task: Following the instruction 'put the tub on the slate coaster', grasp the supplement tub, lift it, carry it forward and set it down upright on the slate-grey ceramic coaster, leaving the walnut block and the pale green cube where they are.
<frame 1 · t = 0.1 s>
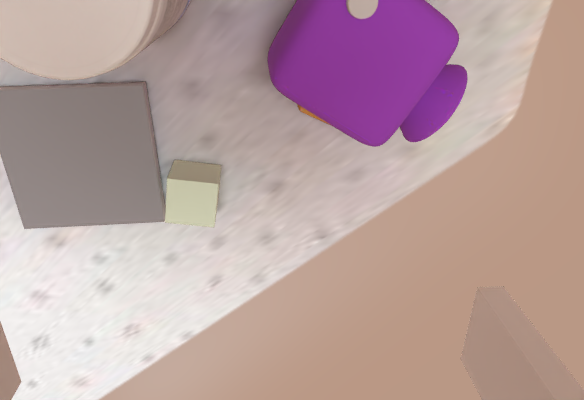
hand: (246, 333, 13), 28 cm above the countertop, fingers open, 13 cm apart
toy camera: (358, 48, 37), on the countertop
slate coaster: (84, 156, 39), on the countertop
pale green cube: (196, 182, 41), on the countertop
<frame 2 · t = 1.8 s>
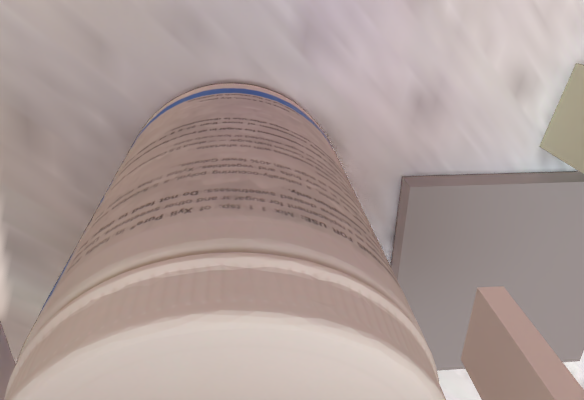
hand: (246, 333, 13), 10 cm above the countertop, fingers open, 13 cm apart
supplement tub: (237, 179, 22), on the countertop
slate coaster: (495, 272, 26), on the countertop
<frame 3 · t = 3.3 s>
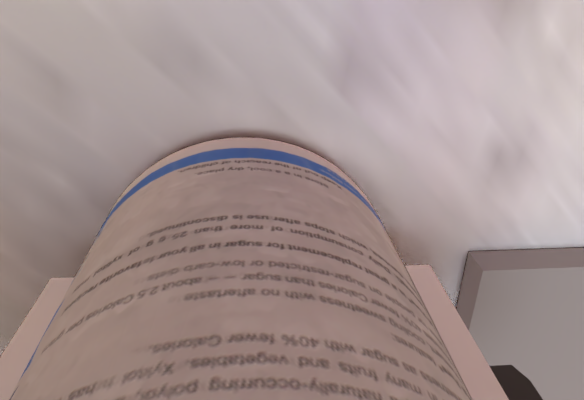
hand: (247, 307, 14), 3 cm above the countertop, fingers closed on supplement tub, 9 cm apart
supplement tub: (249, 256, 17), on the countertop, touching gripper
slate coaster: (578, 364, 20), on the countertop
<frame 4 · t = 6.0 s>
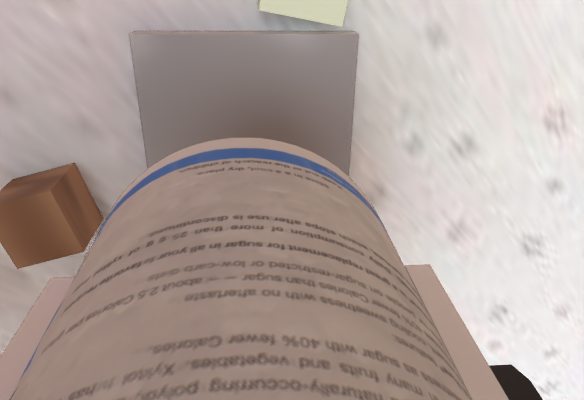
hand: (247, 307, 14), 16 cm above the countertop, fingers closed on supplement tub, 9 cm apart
supplement tub: (249, 256, 17), point 13 cm above the countertop, touching gripper
slate coaster: (249, 135, 28), on the countertop
walnut block: (59, 198, 29), on the countertop
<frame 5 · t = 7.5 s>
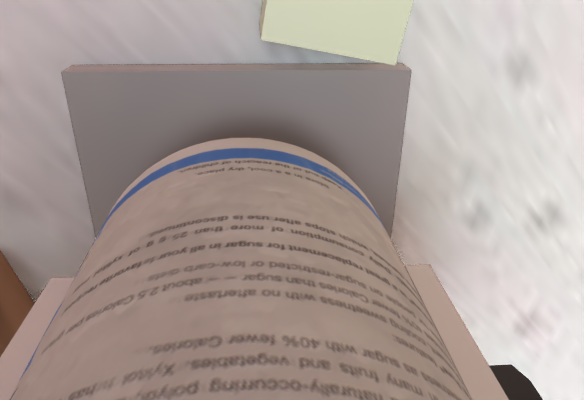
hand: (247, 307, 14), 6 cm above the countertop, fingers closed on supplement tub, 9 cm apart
supplement tub: (249, 256, 17), point 4 cm above the countertop, touching gripper
slate coaster: (247, 208, 20), on the countertop
when the fingers open (5 cm above the countertop, at t = 8.7 s): supplement tub drops 1 cm, resting on slate coaster.
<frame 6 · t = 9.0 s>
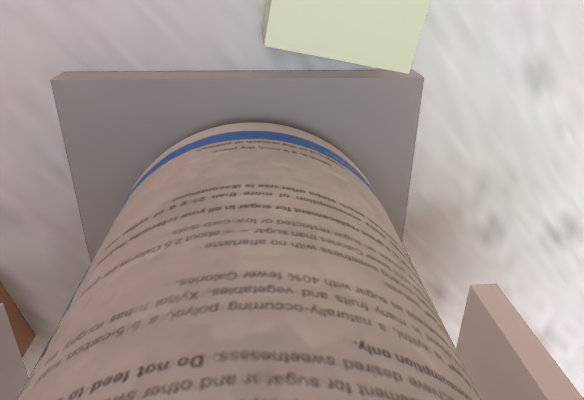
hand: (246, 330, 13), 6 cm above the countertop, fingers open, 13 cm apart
supplement tub: (257, 235, 18), point 1 cm above the countertop, touching slate coaster
slate coaster: (248, 222, 19), on the countertop
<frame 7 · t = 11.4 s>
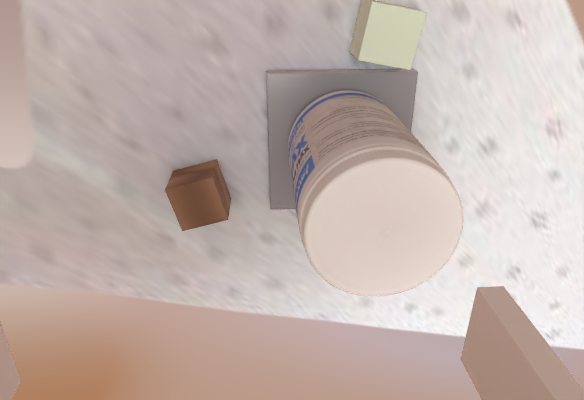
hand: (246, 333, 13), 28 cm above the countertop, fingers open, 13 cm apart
supplement tub: (343, 143, 40), point 1 cm above the countertop, touching slate coaster
slate coaster: (337, 140, 41), on the countertop
pale green cube: (379, 30, 37), on the countertop
walnut block: (202, 184, 42), on the countertop
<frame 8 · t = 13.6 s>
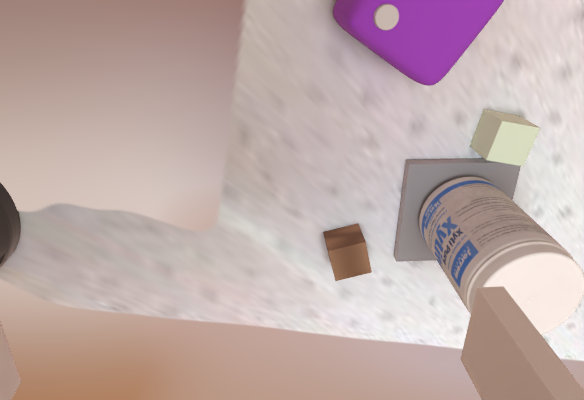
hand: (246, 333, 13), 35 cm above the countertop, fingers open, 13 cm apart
supplement tub: (458, 212, 52), point 1 cm above the countertop, touching slate coaster
slate coaster: (452, 208, 52), on the countertop
pale green cube: (493, 130, 49), on the countertop
walnut block: (343, 242, 53), on the countertop
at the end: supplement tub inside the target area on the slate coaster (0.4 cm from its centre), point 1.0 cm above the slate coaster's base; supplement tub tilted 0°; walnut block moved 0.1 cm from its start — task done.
